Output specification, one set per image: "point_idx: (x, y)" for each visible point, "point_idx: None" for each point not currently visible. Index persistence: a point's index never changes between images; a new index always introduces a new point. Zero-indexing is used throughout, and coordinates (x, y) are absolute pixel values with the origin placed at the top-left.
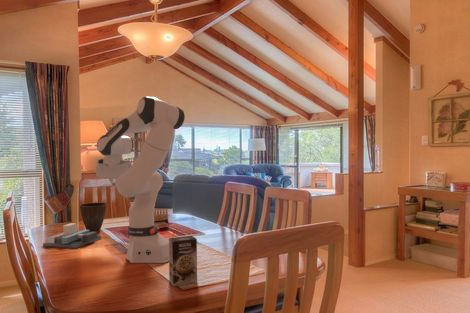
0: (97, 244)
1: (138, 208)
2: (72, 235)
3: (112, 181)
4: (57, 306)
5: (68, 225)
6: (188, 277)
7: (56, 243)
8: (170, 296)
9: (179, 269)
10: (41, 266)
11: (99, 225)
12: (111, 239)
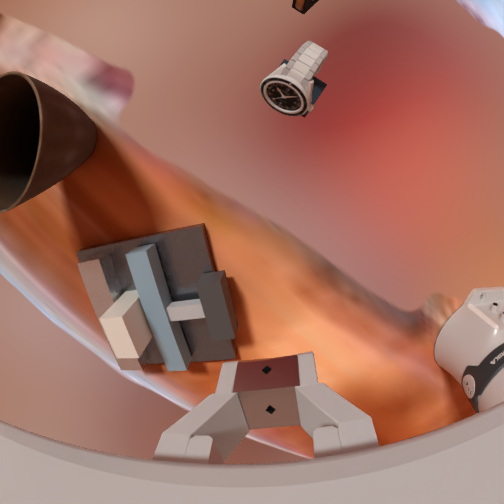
0: (261, 296)
1: None
2: (172, 343)
3: (230, 429)
4: None
5: (132, 354)
6: None
7: (152, 356)
8: None
9: None
10: (281, 448)
11: (90, 134)
12: (257, 218)
